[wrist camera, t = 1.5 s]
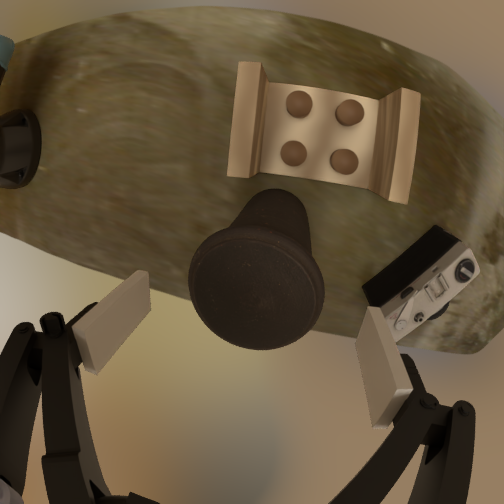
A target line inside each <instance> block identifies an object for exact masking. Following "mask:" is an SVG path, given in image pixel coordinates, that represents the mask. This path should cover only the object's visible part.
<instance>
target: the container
mask: <svg viewBox="0 0 504 504" xmlns="http://www.w3.org/2000/svg"><path fill="white" fill-rule="evenodd" d="M188 283H189V291H190V296H191V300H192V303H193V305H194V308H195V310H196V312H197V313H198V315H199V317H200V318H201V320H202V321H203V322H204V323H205V325H206V326H207V327H208V328H209V329H210V330H211V331H212V332H214V333H215V334H216V335H217V336H219V337H220V338H222V339H223V340H225V341H227V342H229V343H231V344H234V345H236V346H239V347H243V348H247V349H253V350H270V349H276V348H280V347H284V346H286V345H289V344H291V343H293V342H295V341H297V340H298V339H300V338H301V337H303V336H304V335H305V334H306V333H307V332H308V331H309V330H310V329H311V328H312V327H313V326H314V324H315V323H316V321H317V319H318V318H319V315H320V313H321V310H322V307H323V303H324V295H325V289H324V281H323V277H322V274H321V271H320V269H319V267H318V265H317V263H316V262H315V260H314V258H313V257H312V252H311V241H310V232H309V223H308V217H307V213H306V210H305V208H304V206H303V204H302V203H301V201H300V200H299V199H298V198H297V197H296V196H294V195H293V194H291V193H290V192H287V191H285V190H281V189H268V190H264V191H262V192H260V193H258V194H256V195H255V196H254V197H253V198H252V199H251V200H250V201H249V202H248V203H247V205H246V206H245V207H244V209H243V210H242V211H241V212H240V214H239V215H238V217H237V218H236V219H235V220H234V221H233V223H232V224H231V225H230V226H229V228H226V229H223V230H220V231H218V232H216V233H214V234H212V235H211V236H209V237H208V238H207V239H206V240H205V241H204V242H203V243H202V244H201V245H200V246H199V248H198V249H197V251H196V253H195V255H194V256H193V259H192V262H191V265H190V269H189V277H188Z"/></svg>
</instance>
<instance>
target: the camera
mask: <svg viewBox="0 0 504 504" xmlns="http://www.w3.org/2000/svg"><path fill="white" fill-rule="evenodd" d="M479 272H480V268H479V266H478V264H477V261H476V259H475V257H474V255H473V253H472V251H471V249H470V248H469V247H467V246H466V245H465V244H463V243H462V241H461V240H459V239H458V238H456V237H455V236H453V235H452V234H451V233H450V232H448V231H447V230H445V229H442V228H441V227H439V226H437V225H435V226H434V227H433V228H431V229H430V230H429V231H428V232H427V233H426V234H425V235H424V236H423V237H421V238H420V239H419V240H418V241H417V242H416V243H415V244H414V245H412V246H411V247H410V248H409V249H408V250H407V251H405V252H404V253H403V254H402V255H401V256H399V257H398V258H397V259H396V260H395V261H393V262H392V263H391V264H390V265H389V266H387V267H386V268H385V269H384V270H383V271H381V272H380V273H379V274H378V275H376V276H375V277H374V278H373V279H371V280H370V281H369V282H367V283H366V284H365V285H364V286H362V288H363V290H364V292H365V295H366V297H367V300H368V302H369V304H370V307H379V308H380V309H381V311H382V314H383V316H384V318H385V320H386V323H387V325H388V327H389V329H390V332H391V334H392V336H393V339H394V341H395V342H397V341H398V340H400V339H401V338H402V337H404V336H405V335H407V334H408V333H409V332H411V331H412V330H414V329H415V328H416V327H418V326H419V325H420V324H422V323H423V322H424V321H425V320H433V319H436V318H438V317H439V316H441V315H442V314H443V313H444V312H445V311H446V309H447V308H448V306H449V301H450V300H451V299H452V298H453V297H454V296H455V295H456V294H458V293H459V292H460V291H461V290H462V289H463V288H464V287H465V286H466V285H468V284H469V283H470V282H471V281H472V280H473V279H474V278H475V277H476V276H477V275H478V274H479Z"/></svg>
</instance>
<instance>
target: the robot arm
mask: <svg viewBox="0 0 504 504" xmlns="http://www.w3.org/2000/svg"><path fill="white" fill-rule="evenodd" d="M14 47H15V45H14V42H13V40H12V39H10V38H7V37H5V36H2V35H0V85H1V83H2V80H3V77H4V75H5V72H6V71H7V70H8V64H9V61H10V59H11V56H12V54H13V51H14ZM40 151H41V133H40V127H39V123H38V121H37V118H36V116H35V115H34V114H33V113H32V112H31V111H30V110H27V109H17V110H13V111H11V112H8V113H6V114H4V115H2V116H0V187H1V188H7V189H16V188H20V187H23V186H25V185H27V184H28V183H29V182H30V181H31V179H32V178H33V176H34V174H35V172H36V169H37V166H38V162H39V158H40ZM150 311H151V303H150V289H149V273H148V272H147V271H142V270H137V271H136V272H134V273H133V274H132V275H131V276H130V277H128V278H127V279H126V280H125V281H124V282H122V283H121V284H120V285H119V286H118V287H116V288H115V289H114V290H113V291H112V292H111V293H109V294H108V295H107V296H106V297H105V298H104V299H102V300H101V301H100V302H99V303H98V302H94V303H92V304H90V305H88V306H87V307H85V308H84V309H83V310H82V311H81V312H80V313H79V314H78V315H76V316H75V317H74V318H73V319H71V320H70V321H69V322H68V323H67V324H66V325H65V322H64V318H63V315H61V313H58V312H50V313H47V314H45V315H43V316H42V317H41V318H40V324H41V328H42V331H43V332H37V331H35V328H34V326H33V324H32V323H30V322H23V323H20V324H18V325H17V326H16V327H15V328H14V329H13V331H12V333H11V335H10V337H9V339H8V341H7V343H6V345H5V346H4V349H3V351H2V352H1V355H0V504H24V502H23V500H22V494H23V490H24V486H25V479H26V470H27V462H28V455H29V448H30V442H31V436H32V431H33V426H34V421H35V416H36V412H37V407H38V403H39V399H40V395H41V391H42V412H43V428H44V437H45V446H46V455H43V456H42V469H43V474H44V480H45V485H46V491H47V495H48V500H49V504H160V503H158V502H156V501H153V500H150V499H148V498H145V497H142V496H140V495H137V494H135V493H132V492H130V493H129V496H120V495H117V496H116V495H114V496H113V495H111V493H110V491H109V489H108V487H107V486H106V484H105V481H104V479H103V476H102V472H101V469H100V466H99V463H98V459H97V456H96V452H95V448H94V444H93V440H92V436H91V431H90V427H89V422H88V417H87V413H86V407H85V401H84V395H83V389H82V383H81V375H80V369H79V367H78V366H79V365H80V364H81V363H82V362H83V365H84V368H85V370H86V371H88V372H91V373H93V374H96V375H97V374H98V373H99V372H100V371H101V369H102V368H103V367H104V366H105V365H106V363H107V362H108V361H109V360H110V358H111V357H112V356H113V355H114V353H115V352H116V351H117V350H118V349H119V347H120V346H121V345H122V344H123V343H124V341H125V340H126V339H127V338H128V337H129V335H130V334H131V333H132V332H133V331H134V329H135V328H136V327H137V326H138V325H139V323H140V322H141V321H142V320H143V319H144V318H145V316H146V315H147V314H148V313H149V312H150ZM355 346H356V350H357V354H358V358H359V363H360V368H361V372H362V377H363V382H364V386H365V391H366V396H367V402H368V407H369V412H370V418H371V423H372V428H373V429H387V428H388V426H389V425H390V424H391V422H392V421H393V425H394V428H393V430H392V431H391V432H390V434H389V435H388V436H387V438H386V439H385V441H384V442H383V443H382V444H381V446H380V447H379V448H378V450H377V451H376V452H375V453H374V455H373V456H372V457H371V458H370V460H369V461H368V462H367V463H366V464H365V465H364V467H363V468H362V469H361V470H360V471H359V472H358V473H357V475H356V476H355V477H354V478H353V479H352V480H351V481H350V482H349V483H348V484H347V485H346V486H345V487H344V489H342V490H341V491H340V493H339V494H338V495H337V496H335V497H334V499H332V501H330V502H329V503H328V504H380V503H381V502H382V500H383V499H384V498H385V496H386V495H387V494H388V492H389V491H390V490H391V488H392V487H393V486H394V484H395V483H396V481H397V480H398V479H399V477H400V476H401V474H402V473H403V471H404V470H405V468H406V467H407V465H408V463H409V462H410V460H411V459H412V457H413V455H414V454H415V452H416V451H417V449H418V447H419V445H420V444H423V445H425V448H424V452H423V456H422V460H421V464H420V467H419V471H418V474H417V477H416V481H415V484H414V487H413V490H412V493H411V496H410V498H409V501H408V504H466V500H467V496H468V490H469V484H470V478H471V471H472V470H471V469H472V462H473V453H474V440H475V409H474V407H473V406H472V405H471V404H470V403H468V402H466V401H463V400H460V401H457V402H456V403H455V404H454V405H453V407H449V406H444V405H440V404H439V401H438V400H437V398H436V397H434V396H433V395H432V394H429V393H427V392H426V390H425V387H424V385H423V382H422V380H421V377H420V375H419V374H418V370H417V369H416V366H415V363H414V361H413V360H412V359H411V357H410V356H409V355H408V354H400V353H399V351H398V348H397V346H396V343H395V341H394V339H393V336H392V334H391V332H390V329H389V327H388V325H387V323H386V320H385V318H384V316H383V314H382V311H381V309H380V308H379V307H370V306H368V307H367V311H366V314H365V317H364V320H363V323H362V326H361V329H360V331H359V334H358V337H357V340H356V343H355Z"/></svg>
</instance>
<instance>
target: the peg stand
mask: <svg viewBox="0 0 504 504" xmlns="http://www.w3.org/2000/svg"><path fill="white" fill-rule="evenodd" d="M420 94H421V93H418V92H415V91H412V90H409V89H405V88H400V89H398V90H396V91H395V92H393V93H391V94H389V95H387V96H386V97H384V98H382V99H380V100H375V99H371V98H366V97H362V96H357V95H353V94H348V93H343V92H338V91H332V90H326V89H320V88H314V87H307V86H299V85H291V84H282V83H271V82H269V81H268V78H267V76H266V73H265V71H264V68H263V66H262V63H261V62H239V67H238V75H237V83H236V92H235V101H234V110H233V119H232V129H231V139H230V149H229V160H228V171H227V176H232V177H242V178H250V177H252V176H253V175H255V174H257V173H259V172H263V173H271V174H279V175H286V176H294V177H301V178H307V179H314V180H320V181H326V182H332V183H338V184H344V185H349V186H355V187H360V188H365V189H369V190H371V191H372V192H374V193H376V194H378V195H380V196H381V197H383V198H385V199H387V200H388V201H393V202H398V203H402V204H407V202H408V197H409V192H410V186H411V180H412V174H413V167H414V160H415V153H416V145H417V135H418V125H419V112H420Z"/></svg>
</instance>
